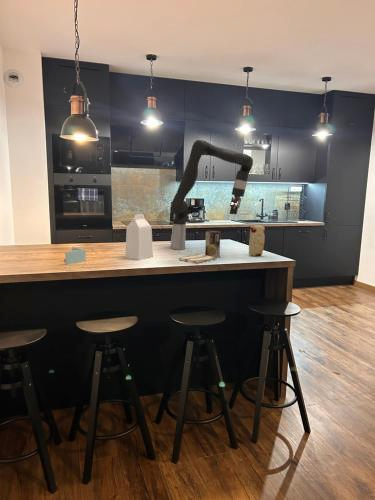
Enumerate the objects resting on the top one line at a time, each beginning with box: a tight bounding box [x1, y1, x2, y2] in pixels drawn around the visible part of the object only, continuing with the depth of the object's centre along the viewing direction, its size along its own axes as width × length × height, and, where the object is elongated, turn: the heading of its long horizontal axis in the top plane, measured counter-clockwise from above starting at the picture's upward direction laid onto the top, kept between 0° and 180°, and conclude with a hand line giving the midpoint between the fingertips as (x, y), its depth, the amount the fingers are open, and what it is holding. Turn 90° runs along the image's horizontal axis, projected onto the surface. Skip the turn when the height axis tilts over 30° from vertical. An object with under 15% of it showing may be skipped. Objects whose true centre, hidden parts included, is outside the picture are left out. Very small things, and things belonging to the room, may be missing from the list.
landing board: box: [178, 253, 217, 265], centre depth 213 cm, size 14×17×2 cm
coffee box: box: [204, 230, 221, 259], centre depth 222 cm, size 9×6×16 cm
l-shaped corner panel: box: [64, 246, 87, 266], centre depth 199 cm, size 12×12×8 cm
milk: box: [124, 213, 154, 261], centre depth 213 cm, size 12×12×26 cm
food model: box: [248, 224, 266, 257], centre depth 228 cm, size 10×7×20 cm
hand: (232, 214), depth 219 cm, fingers open, 8 cm apart
